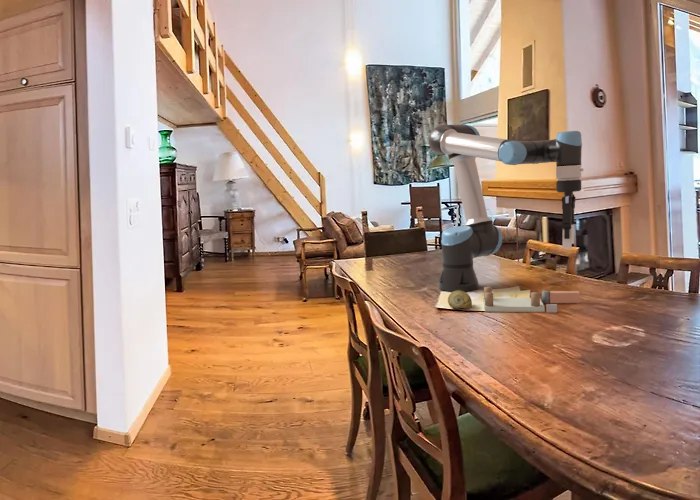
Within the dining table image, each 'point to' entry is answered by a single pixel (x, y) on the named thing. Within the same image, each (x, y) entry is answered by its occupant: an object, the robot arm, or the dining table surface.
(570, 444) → the dining table surface
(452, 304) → the seashell
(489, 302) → the pale board with pegs
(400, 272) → the dining table surface
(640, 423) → the dining table surface
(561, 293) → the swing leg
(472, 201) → the robot arm
